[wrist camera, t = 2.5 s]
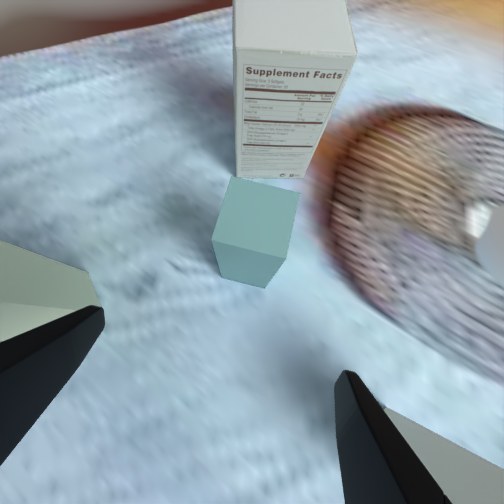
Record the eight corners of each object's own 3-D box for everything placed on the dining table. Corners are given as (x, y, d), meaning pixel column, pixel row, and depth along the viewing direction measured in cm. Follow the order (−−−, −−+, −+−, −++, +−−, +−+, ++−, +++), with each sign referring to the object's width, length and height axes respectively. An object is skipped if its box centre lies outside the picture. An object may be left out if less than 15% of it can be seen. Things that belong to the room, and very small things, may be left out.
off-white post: (378, 491, 18) (540, 676, 8) (347, 436, 19) (461, 548, 9) (418, 457, 19) (606, 593, 9) (386, 407, 20) (527, 482, 10)
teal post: (264, 288, 22) (286, 258, 12) (222, 277, 22) (211, 239, 12) (273, 248, 23) (299, 192, 14) (233, 238, 23) (231, 175, 14)
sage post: (55, 337, 20) (-115, 346, 10) (41, 294, 21) (-127, 266, 11) (103, 313, 20) (-12, 300, 11) (88, 272, 21) (-31, 228, 12)
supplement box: (234, 123, 27) (232, -37, 15) (298, 126, 28) (346, -28, 16) (233, 180, 25) (231, 44, 13) (303, 181, 26) (363, 52, 14)
